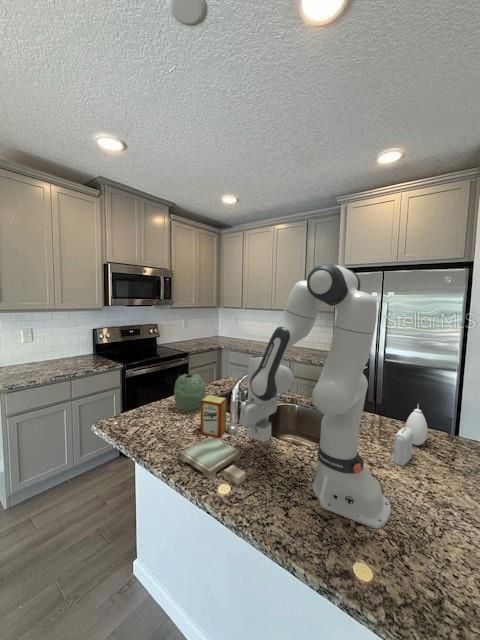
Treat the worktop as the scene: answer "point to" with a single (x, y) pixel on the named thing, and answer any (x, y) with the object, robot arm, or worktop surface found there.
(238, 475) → the beech block
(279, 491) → the worktop surface
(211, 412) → the baking soda box
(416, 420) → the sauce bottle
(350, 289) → the robot arm
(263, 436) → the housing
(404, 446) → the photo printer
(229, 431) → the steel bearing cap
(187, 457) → the stand
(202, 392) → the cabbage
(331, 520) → the worktop surface
